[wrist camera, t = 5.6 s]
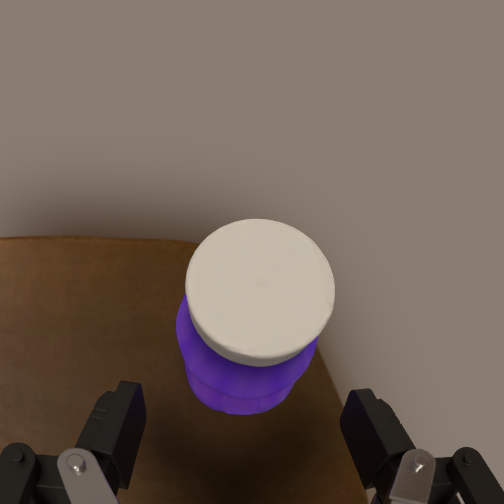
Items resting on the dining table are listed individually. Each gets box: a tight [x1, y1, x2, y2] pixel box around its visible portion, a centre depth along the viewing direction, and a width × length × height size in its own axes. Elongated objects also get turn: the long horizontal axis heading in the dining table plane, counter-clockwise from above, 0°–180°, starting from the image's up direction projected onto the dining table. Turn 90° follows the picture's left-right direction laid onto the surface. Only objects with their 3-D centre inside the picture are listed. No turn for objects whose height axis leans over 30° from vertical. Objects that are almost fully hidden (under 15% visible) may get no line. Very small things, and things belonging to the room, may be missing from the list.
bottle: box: [176, 219, 335, 415], centre depth 15 cm, size 7×6×17 cm
